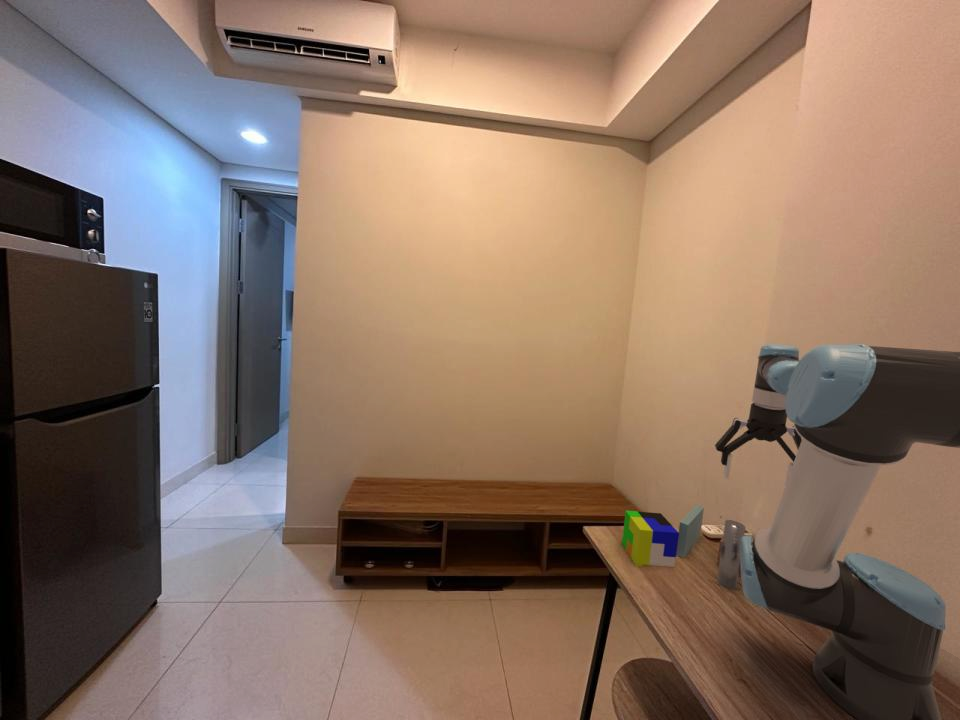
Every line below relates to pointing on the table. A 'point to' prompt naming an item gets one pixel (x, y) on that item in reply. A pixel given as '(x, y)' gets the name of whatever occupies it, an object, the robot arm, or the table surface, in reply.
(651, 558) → the puzzle toy
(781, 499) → the robot arm
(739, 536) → the dowel
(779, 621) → the table surface
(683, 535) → the backstop
